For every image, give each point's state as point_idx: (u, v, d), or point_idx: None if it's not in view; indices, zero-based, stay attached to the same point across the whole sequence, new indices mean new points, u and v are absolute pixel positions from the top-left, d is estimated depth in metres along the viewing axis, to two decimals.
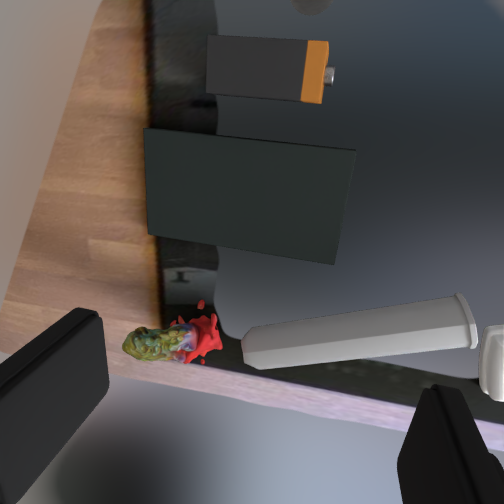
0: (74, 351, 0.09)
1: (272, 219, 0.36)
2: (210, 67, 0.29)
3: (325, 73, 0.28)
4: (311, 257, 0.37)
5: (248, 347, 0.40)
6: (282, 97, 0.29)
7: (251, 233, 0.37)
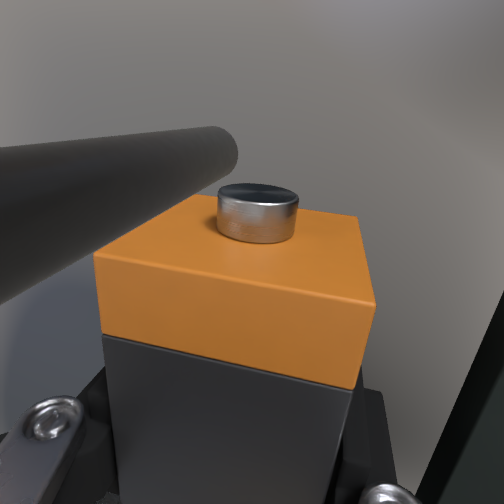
0: None
1: None
2: None
3: (242, 237, 0.06)
4: None
5: None
6: (328, 457, 0.06)
7: None
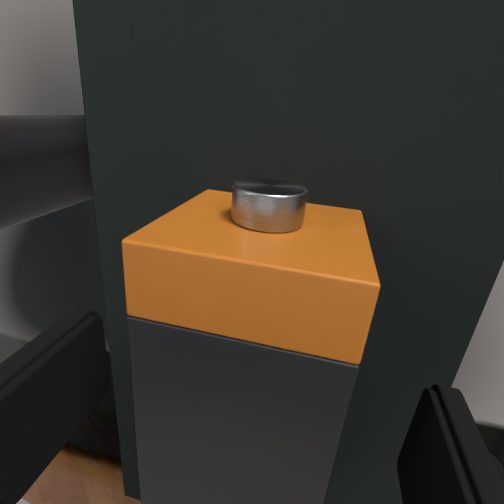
0: (74, 351, 0.09)
1: None
2: None
3: (255, 227, 0.07)
4: None
5: None
6: (335, 428, 0.06)
7: (393, 327, 0.10)
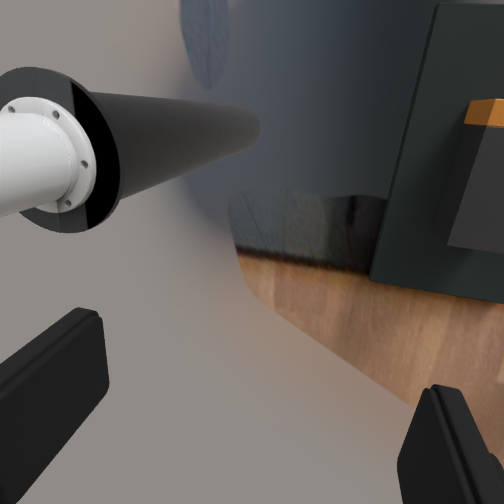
0: (74, 351, 0.09)
1: None
2: (483, 245, 0.25)
3: None
4: None
5: None
6: None
7: None
